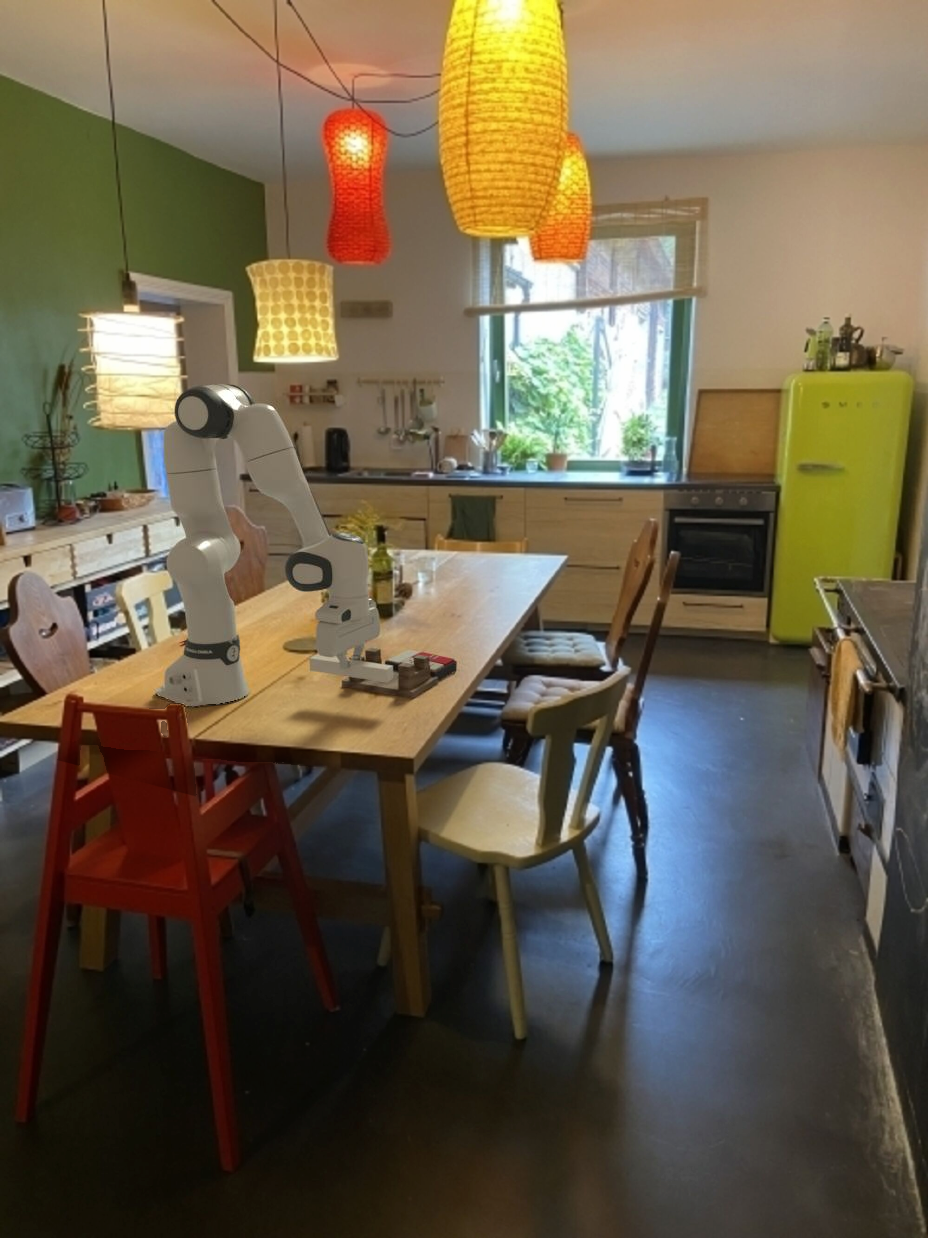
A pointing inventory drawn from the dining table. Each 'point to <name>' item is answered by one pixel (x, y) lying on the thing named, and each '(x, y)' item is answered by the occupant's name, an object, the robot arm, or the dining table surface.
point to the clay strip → (352, 668)
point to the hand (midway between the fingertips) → (350, 665)
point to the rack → (396, 677)
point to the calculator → (437, 663)
